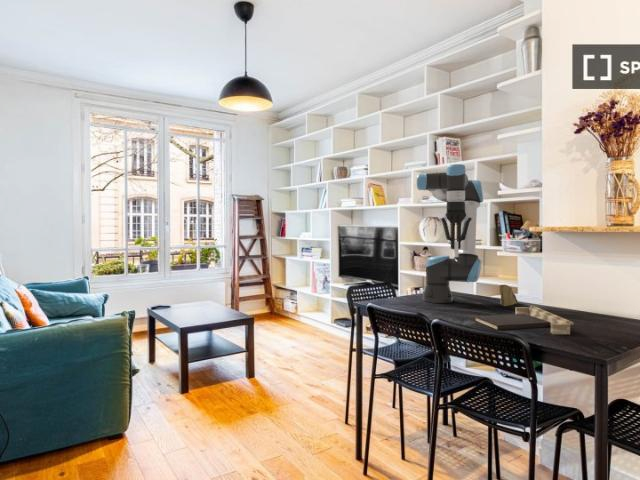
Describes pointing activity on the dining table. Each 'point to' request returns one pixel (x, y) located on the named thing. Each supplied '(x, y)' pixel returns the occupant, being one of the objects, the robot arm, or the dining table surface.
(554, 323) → the beige notched bar
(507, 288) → the rock
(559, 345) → the dining table surface
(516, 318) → the hardcover book
